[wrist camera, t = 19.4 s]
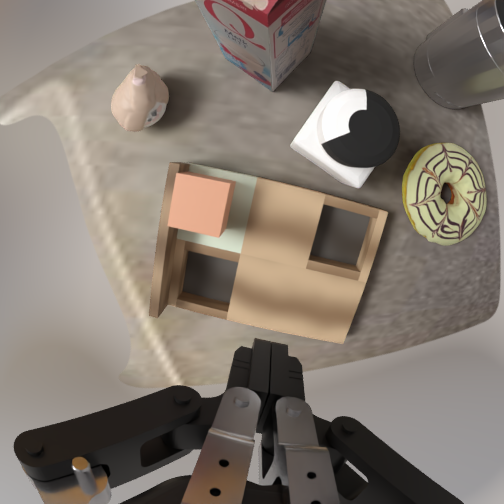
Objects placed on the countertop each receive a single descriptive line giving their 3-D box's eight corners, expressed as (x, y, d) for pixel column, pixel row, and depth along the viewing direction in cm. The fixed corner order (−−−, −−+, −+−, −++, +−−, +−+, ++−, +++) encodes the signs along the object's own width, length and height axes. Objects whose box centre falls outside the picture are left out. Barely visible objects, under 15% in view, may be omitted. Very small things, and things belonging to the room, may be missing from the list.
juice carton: (272, 92, 30) (264, -19, 9) (225, 58, 29) (158, -62, 8) (310, 52, 28) (350, -77, 7) (263, 20, 28) (245, -118, 7)
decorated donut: (446, 256, 34) (461, 266, 30) (378, 205, 33) (391, 211, 29) (486, 182, 30) (504, 185, 27) (423, 125, 30) (439, 122, 26)
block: (188, 171, 31) (176, 172, 27) (236, 181, 31) (230, 183, 27) (179, 218, 32) (167, 225, 28) (225, 229, 32) (219, 237, 28)
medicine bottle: (377, 133, 30) (425, 121, 19) (343, 184, 32) (377, 195, 21) (324, 95, 30) (348, 61, 18) (288, 146, 32) (295, 136, 20)
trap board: (187, 162, 33) (169, 162, 27) (380, 208, 33) (400, 217, 27) (166, 293, 37) (149, 315, 32) (339, 333, 37) (348, 360, 31)
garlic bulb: (184, 117, 32) (158, 104, 24) (135, 141, 33) (100, 137, 25) (165, 69, 30) (137, 47, 22) (119, 94, 31) (83, 81, 23)
